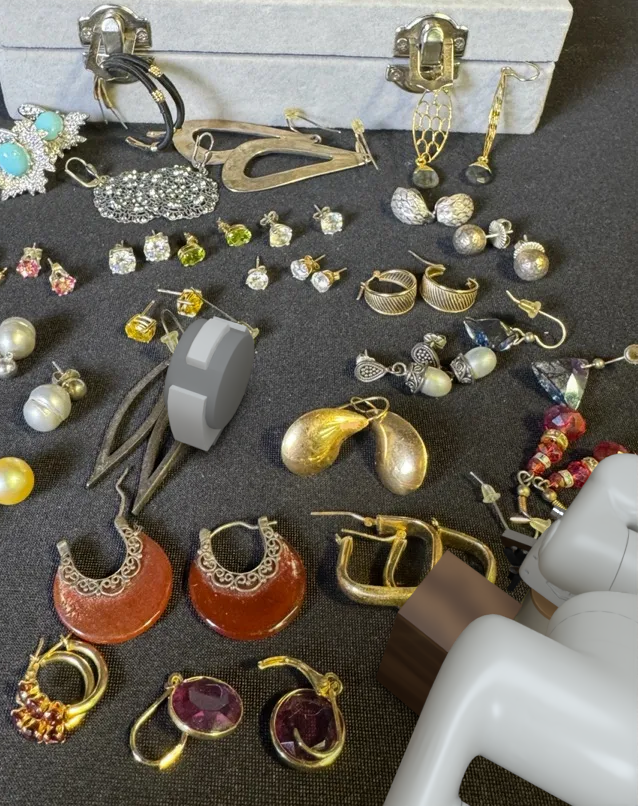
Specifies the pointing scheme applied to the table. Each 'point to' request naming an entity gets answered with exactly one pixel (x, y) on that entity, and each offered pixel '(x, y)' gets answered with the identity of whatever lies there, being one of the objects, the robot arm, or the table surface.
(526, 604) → the canister
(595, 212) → the table surface
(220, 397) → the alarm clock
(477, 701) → the robot arm
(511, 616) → the wooden block
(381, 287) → the table surface
